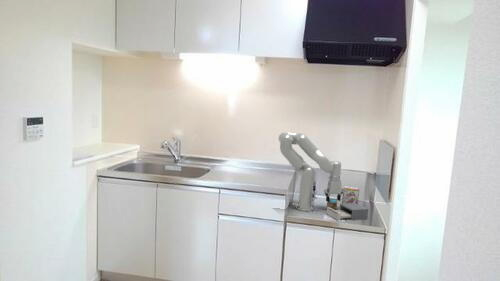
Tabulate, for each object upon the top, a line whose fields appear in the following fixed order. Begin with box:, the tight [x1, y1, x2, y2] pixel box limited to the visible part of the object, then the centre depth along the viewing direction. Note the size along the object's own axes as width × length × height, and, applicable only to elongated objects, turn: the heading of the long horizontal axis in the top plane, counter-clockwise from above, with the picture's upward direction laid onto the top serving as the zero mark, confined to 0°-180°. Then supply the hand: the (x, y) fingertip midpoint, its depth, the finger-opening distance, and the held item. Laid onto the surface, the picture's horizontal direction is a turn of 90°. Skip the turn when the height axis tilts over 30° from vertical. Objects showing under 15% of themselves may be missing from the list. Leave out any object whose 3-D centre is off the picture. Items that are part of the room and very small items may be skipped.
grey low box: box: [339, 203, 369, 221], centre depth 230 cm, size 13×14×7 cm
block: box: [326, 201, 338, 211], centre depth 241 cm, size 5×5×6 cm
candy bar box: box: [341, 185, 360, 204], centre depth 245 cm, size 11×5×16 cm, turn 77°
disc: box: [329, 197, 338, 204], centre depth 241 cm, size 7×7×2 cm
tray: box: [326, 206, 351, 221], centre depth 226 cm, size 14×14×5 cm
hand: (333, 200), depth 241 cm, fingers open, 9 cm apart
